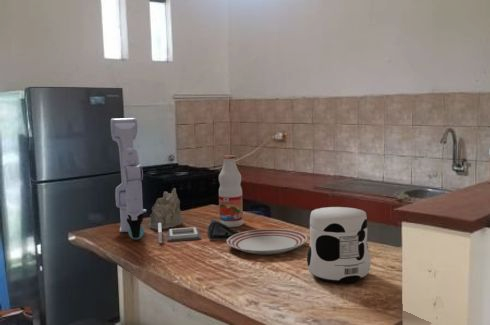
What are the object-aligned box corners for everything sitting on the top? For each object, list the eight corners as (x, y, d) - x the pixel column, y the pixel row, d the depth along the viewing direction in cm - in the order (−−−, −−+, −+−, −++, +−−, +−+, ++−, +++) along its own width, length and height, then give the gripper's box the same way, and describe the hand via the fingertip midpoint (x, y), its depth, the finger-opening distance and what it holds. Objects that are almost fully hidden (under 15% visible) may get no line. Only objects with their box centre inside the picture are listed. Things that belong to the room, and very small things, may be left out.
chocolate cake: (242, 235, 184) (220, 212, 185) (242, 235, 177) (219, 211, 178) (224, 253, 182) (202, 231, 184) (224, 254, 175) (200, 230, 177)
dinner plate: (211, 253, 161) (211, 244, 161) (249, 233, 185) (249, 224, 185) (289, 264, 148) (288, 253, 148) (319, 240, 172) (319, 231, 172)
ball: (129, 237, 181) (128, 223, 180) (144, 236, 182) (143, 221, 181) (128, 241, 176) (127, 226, 175) (144, 240, 177) (143, 225, 176)
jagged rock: (167, 216, 214) (164, 183, 211) (190, 224, 203) (187, 189, 200) (136, 226, 204) (132, 191, 201) (158, 234, 192) (155, 197, 189)
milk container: (326, 262, 149) (326, 203, 147) (380, 273, 138) (381, 210, 136) (295, 278, 136) (294, 215, 134) (352, 292, 125) (352, 223, 123)
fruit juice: (247, 223, 200) (245, 154, 196) (236, 228, 192) (234, 157, 188) (227, 221, 204) (224, 154, 201) (215, 226, 196) (213, 156, 193)
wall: (158, 233, 188) (157, 222, 187) (161, 232, 188) (161, 222, 188) (158, 243, 174) (158, 232, 174) (162, 242, 174) (161, 232, 174)
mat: (166, 233, 187) (166, 228, 187) (198, 230, 190) (197, 226, 189) (167, 241, 176) (167, 236, 176) (201, 239, 178) (200, 234, 178)
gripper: (145, 201, 170) (147, 239, 172) (145, 194, 185) (147, 229, 186) (124, 203, 169) (126, 241, 171) (126, 195, 183) (128, 230, 185)
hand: (136, 235), depth 179 cm, fingers closed on ball, 5 cm apart
